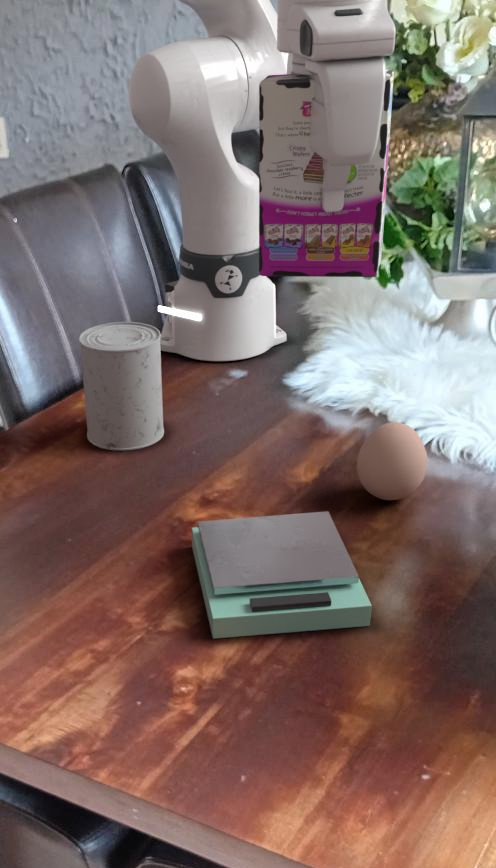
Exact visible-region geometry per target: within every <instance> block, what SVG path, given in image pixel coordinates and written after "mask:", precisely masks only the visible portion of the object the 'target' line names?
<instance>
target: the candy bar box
mask: <svg viewBox="0 0 496 868" xmlns="http://www.w3.org/2000/svg"><path fill="white" fill-rule="evenodd" d="M394 78H395V70H394V69H393V68H390V69H389V68H388V69H386V79H385V90H384V99H383V107H382V115H381V122H380V129H379V137H378V142H377V146H376V149H375V152H374V155H373V157H372V160H371V161H370V162H369V163H367V164H358V165H351V170H350V174H349V177H348V181H347V184H346V187H345V190H344V205H343V208H342V210H341V211H337V212H326V211H324V210H323V209H322V207H321V206H320V189H321V188H323V178H324V170H323V158H322V157H320V156H319V155H318V154H317V153H315V152H314V151H313V150H312V149H311V148H310V142H309V138H310V119H311V100H315V80H313V79H312V78H310V77H308V76H307V75H300V74H283V75H269V76H267V77H266V78H265V79H264V80H262V81H261V82H260V85H259V129H258V132H259V135H258V143H259V144H258V145H259V146H258V156H259V157H258V162H259V166H258V167H259V168H258V169H259V171H258V175H259V176H258V178H259V275H261V276H267V277H304V278H305V277H308V278H309V277H312V278H313V277H314V278H317V277H318V278H319V277H320V278H321V277H323V278H324V277H325V278H376V277H377V276H378V274H379V273H378V272H379V269H380V266H381V262H382V257H383V242H384V225H385V213H386V198H387V197H386V195H387V184H388V183H387V182H388V167H389V154H390V153H389V152H390V151H389V150H390V137H391V123H392V120H391V119H392V107H393V94H394V93H393V92H394V80H395V79H394Z"/></svg>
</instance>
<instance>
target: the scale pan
mask: <svg viewBox="0 0 496 868" xmlns="http://www.w3.org/2000/svg"><path fill="white" fill-rule="evenodd" d="M197 527H198V531H199V535H200V539H201V543H202V548H203V552H204V556H205V560H206V564H207V568H208V572H209V576H210V581H211V585H212V589H213V593H214V595H219V594H232V593H244V592H256V591H269V590H281V589H293V588H306V587H318V586H331V585H343V584H355V583H358V578H359V577H360V576H359V573H358V571H357V568H356V567H355V565H354V563H353V561H352V558H351V557H350V554H349V552H348V551H347V550H348V549H347V548H346V546H345V544H344V542H343V539H342V537H341V536H340V533H339V530H338V528H337V527H336V525H335V522H334V520H333V518H332V516H331V513H330V511H328V510H327V511H314V512H302V513H291V514H290V513H289V514H276V515H263V516H249V517H240V518H239V517H238V518H226V519H213V520H200V521H197ZM359 579H360V578H359Z"/></svg>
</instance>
